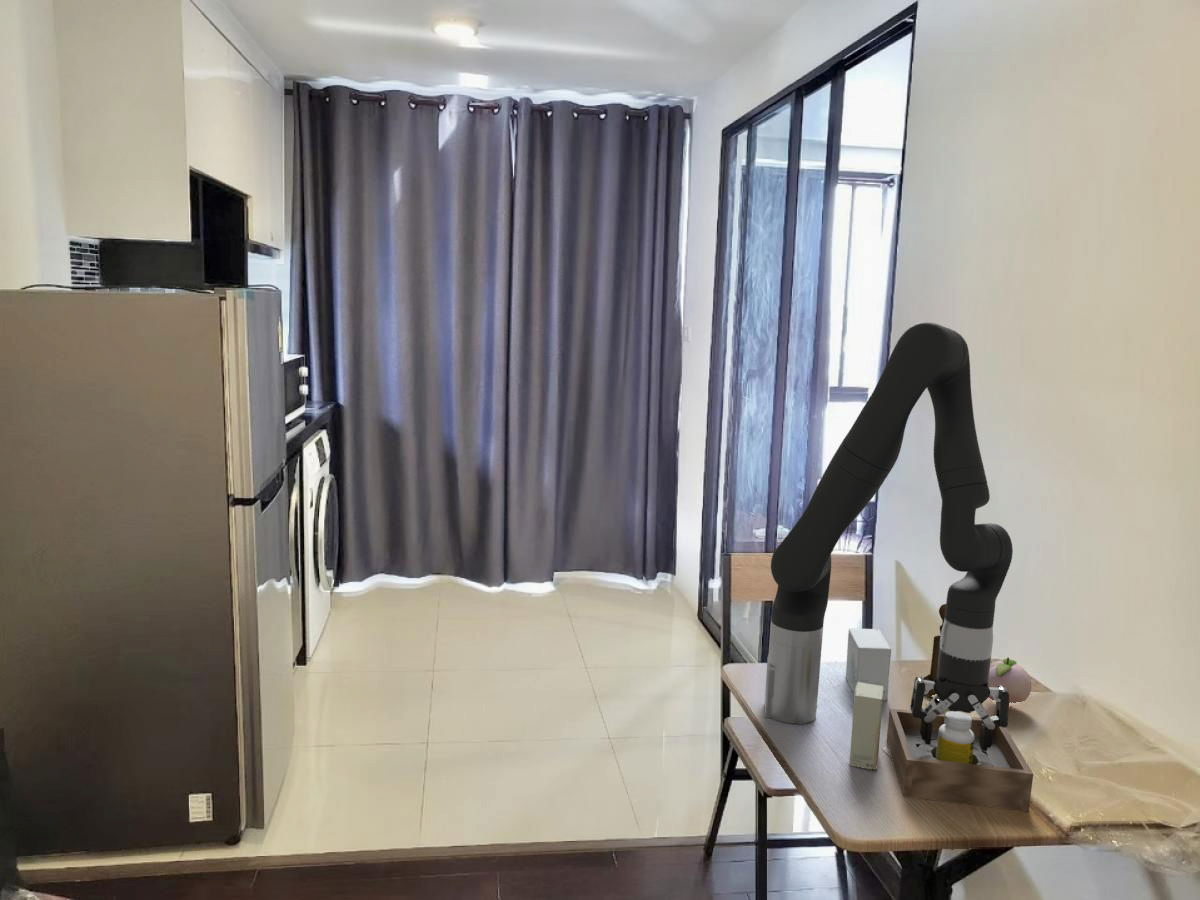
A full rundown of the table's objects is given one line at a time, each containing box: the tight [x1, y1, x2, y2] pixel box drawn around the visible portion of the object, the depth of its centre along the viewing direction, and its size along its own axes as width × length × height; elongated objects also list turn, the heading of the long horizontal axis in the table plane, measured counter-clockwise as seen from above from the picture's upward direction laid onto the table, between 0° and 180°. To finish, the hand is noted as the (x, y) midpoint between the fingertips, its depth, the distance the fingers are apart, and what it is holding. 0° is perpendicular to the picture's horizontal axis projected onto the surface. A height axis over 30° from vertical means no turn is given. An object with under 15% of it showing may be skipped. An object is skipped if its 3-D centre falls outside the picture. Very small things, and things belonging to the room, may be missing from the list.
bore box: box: [886, 708, 1034, 812], centre depth 143 cm, size 18×18×6 cm
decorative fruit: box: [988, 657, 1032, 703], centre depth 168 cm, size 9×8×10 cm
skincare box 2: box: [849, 682, 884, 771], centre depth 146 cm, size 6×4×12 cm
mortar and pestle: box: [922, 603, 946, 697], centre depth 173 cm, size 7×6×18 cm
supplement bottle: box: [935, 710, 975, 764], centre depth 143 cm, size 5×5×10 cm
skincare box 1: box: [845, 627, 892, 701], centre depth 175 cm, size 10×6×10 cm, turn 175°
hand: (954, 745), depth 143 cm, fingers open, 8 cm apart
